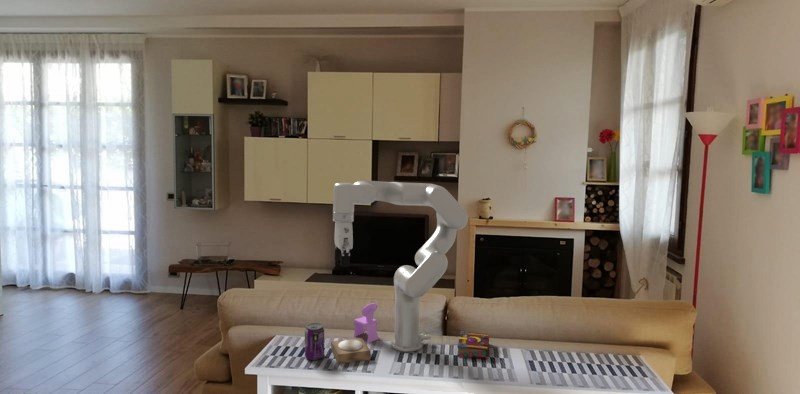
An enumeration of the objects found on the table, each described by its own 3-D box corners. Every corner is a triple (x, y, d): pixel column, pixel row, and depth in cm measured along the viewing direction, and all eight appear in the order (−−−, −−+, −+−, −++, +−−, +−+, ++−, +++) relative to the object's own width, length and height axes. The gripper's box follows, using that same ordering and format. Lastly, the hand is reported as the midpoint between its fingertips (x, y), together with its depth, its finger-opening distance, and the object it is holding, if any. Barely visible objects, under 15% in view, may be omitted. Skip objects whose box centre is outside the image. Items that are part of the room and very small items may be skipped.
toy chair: (366, 331, 223) (366, 296, 221) (381, 337, 217) (381, 302, 215) (351, 337, 218) (351, 301, 215) (365, 343, 212) (366, 306, 209)
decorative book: (488, 344, 214) (489, 332, 213) (487, 361, 198) (488, 349, 197) (460, 341, 216) (460, 329, 215) (456, 358, 200) (457, 346, 200)
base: (361, 346, 209) (361, 336, 208) (370, 359, 197) (370, 349, 197) (331, 350, 205) (331, 340, 204) (338, 363, 194) (338, 353, 193)
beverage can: (320, 362, 195) (320, 330, 193) (301, 360, 196) (301, 328, 194) (327, 354, 201) (327, 323, 200) (309, 352, 203) (308, 321, 201)
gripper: (359, 221, 188) (358, 268, 190) (347, 212, 204) (346, 256, 206) (338, 221, 185) (337, 269, 188) (328, 213, 202) (327, 257, 204)
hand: (342, 263), depth 197 cm, fingers open, 9 cm apart
